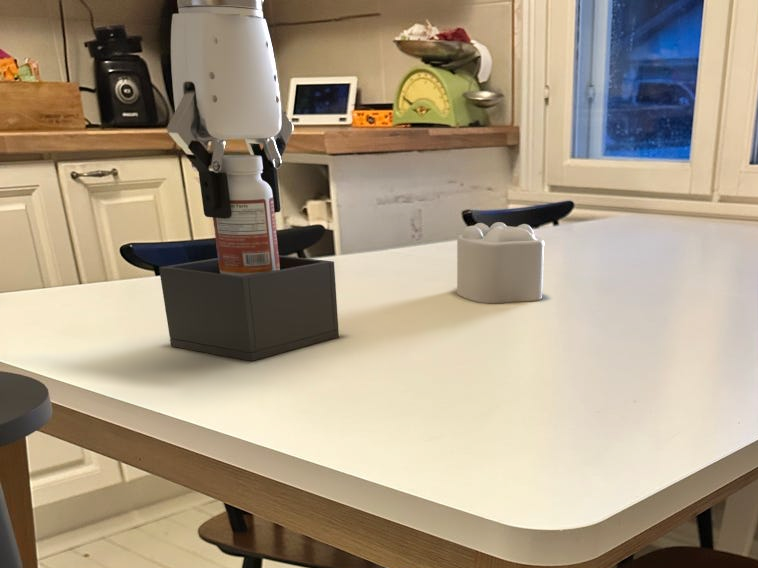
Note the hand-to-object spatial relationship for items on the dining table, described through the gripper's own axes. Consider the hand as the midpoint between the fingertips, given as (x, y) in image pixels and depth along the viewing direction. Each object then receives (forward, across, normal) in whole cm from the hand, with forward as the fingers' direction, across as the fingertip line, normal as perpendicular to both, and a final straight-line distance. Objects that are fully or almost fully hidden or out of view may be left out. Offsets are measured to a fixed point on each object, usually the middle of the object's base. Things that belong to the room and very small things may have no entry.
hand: (243, 212), depth 93 cm
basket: (+13, 0, 0) cm, 13 cm away
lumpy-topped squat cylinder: (+13, -40, +6) cm, 42 cm away
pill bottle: (+6, 0, 0) cm, 6 cm away
